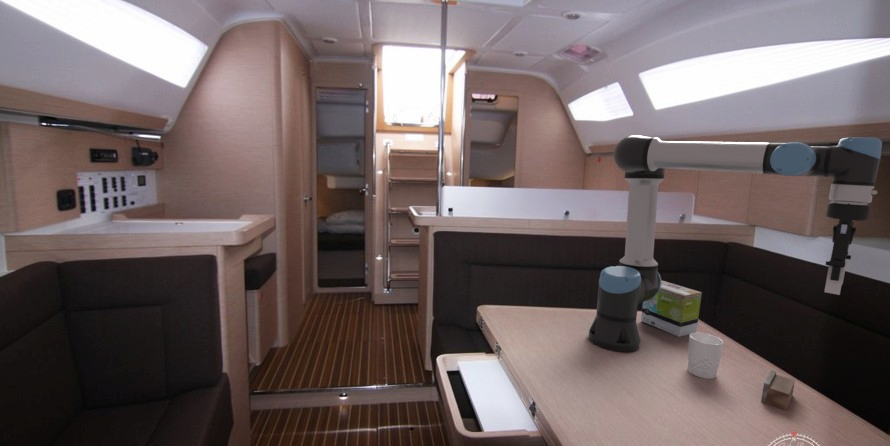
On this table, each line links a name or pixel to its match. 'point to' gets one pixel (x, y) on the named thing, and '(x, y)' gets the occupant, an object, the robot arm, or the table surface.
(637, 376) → the table surface
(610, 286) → the robot arm
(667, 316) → the tea box
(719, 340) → the white cup
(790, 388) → the block
